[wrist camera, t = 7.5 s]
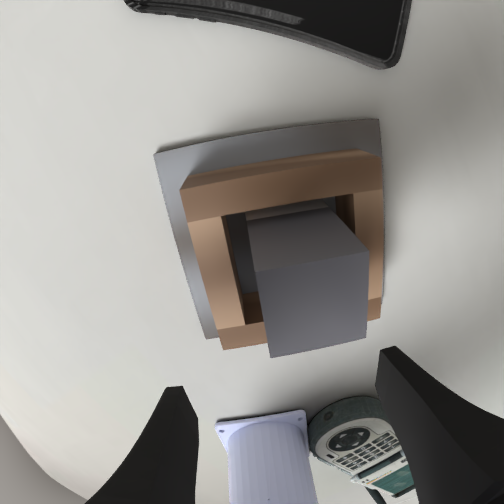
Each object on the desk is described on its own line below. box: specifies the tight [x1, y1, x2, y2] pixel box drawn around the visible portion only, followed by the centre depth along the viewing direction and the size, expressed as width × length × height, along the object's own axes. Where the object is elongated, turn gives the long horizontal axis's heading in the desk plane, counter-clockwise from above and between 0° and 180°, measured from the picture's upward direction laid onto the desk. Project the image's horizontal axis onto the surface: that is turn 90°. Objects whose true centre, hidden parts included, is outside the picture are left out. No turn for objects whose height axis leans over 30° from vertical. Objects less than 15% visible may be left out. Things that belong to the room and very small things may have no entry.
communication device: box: [307, 396, 415, 504], centre depth 26 cm, size 12×24×9 cm, turn 42°
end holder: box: [153, 119, 384, 350], centre depth 17 cm, size 12×12×4 cm
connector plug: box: [245, 199, 369, 358], centre depth 15 cm, size 4×4×7 cm
